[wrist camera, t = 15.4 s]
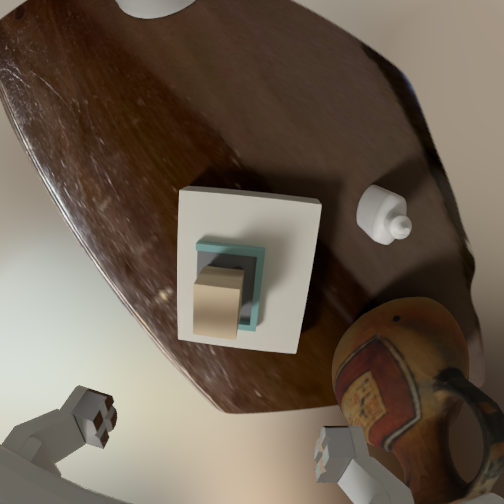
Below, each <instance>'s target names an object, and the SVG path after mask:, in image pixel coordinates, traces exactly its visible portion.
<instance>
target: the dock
mask: <svg viewBox="0 0 504 504" xmlns="http://www.w3.org/2000/svg"><path fill="white" fill-rule="evenodd" d="M321 208H322V204H321V203H320V202H319V200H318V199H315V198H307V197H299V196H291V195H282V194H273V193H264V192H254V191H244V190H234V189H223V188H211V187H198V186H187V187H185V188H183V189H181V190H179V214H178V252H177V311H178V339H180V340H187V341H193V342H199V343H206V344H213V345H221V346H228V347H236V348H244V349H253V350H262V351H272V352H283V353H294V354H296V350H297V346H298V341H299V336H300V331H301V326H302V321H303V316H304V310H305V305H306V300H307V294H308V289H309V283H310V277H311V272H312V266H313V260H314V254H315V247H316V241H317V235H318V228H319V222H320V215H321ZM211 263H213V264H216V265H217V266H218V267H220V268H228V269H233V268H234V267H236V266H239V267H241V268H243V270H244V273H245V274H244V281H243V292H242V303H241V314H240V320H239V325H238V330H237V335H236V340H232V339H224V338H216V337H209V336H202V335H196V334H193V292H194V282H195V281H196V279H197V277H198V275H199V274H200V272H201V270H202V268H203V266H207V265H208V264H211Z"/></svg>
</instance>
